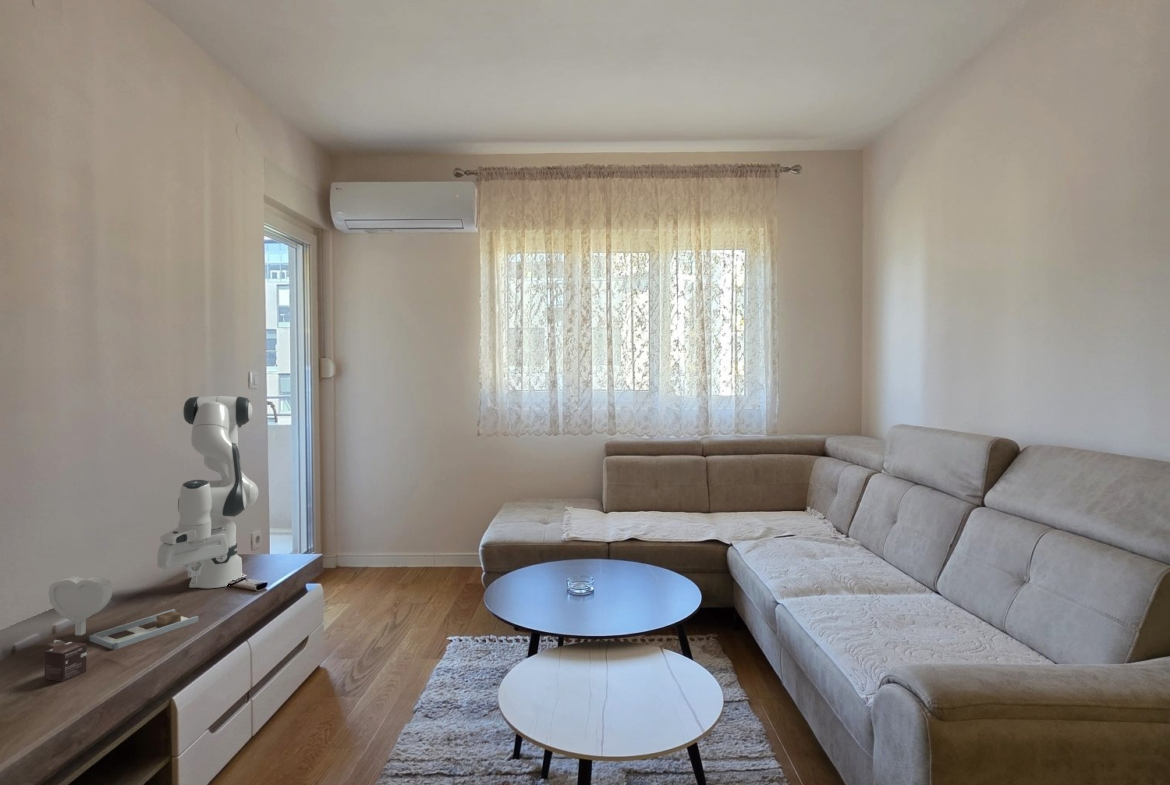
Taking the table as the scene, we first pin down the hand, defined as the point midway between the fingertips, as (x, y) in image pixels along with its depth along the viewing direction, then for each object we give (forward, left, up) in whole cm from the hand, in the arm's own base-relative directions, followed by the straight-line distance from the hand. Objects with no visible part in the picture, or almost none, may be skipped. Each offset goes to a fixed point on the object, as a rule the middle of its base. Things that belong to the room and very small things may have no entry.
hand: (194, 576), depth 188 cm
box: (+20, -30, -15) cm, 39 cm away
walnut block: (+3, -7, -13) cm, 15 cm away
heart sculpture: (-5, -27, -15) cm, 32 cm away
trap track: (+2, -12, -15) cm, 19 cm away
